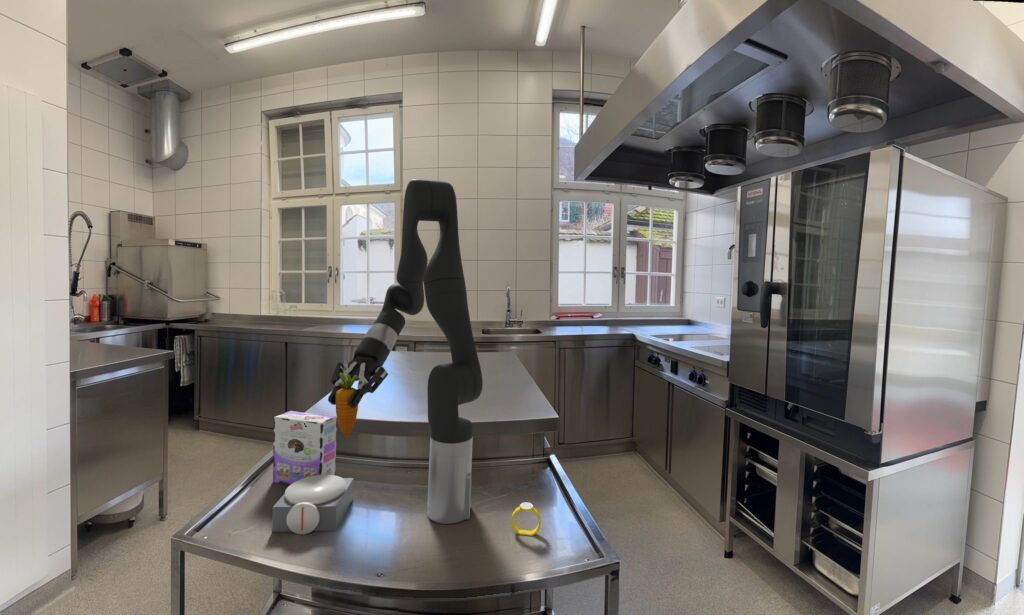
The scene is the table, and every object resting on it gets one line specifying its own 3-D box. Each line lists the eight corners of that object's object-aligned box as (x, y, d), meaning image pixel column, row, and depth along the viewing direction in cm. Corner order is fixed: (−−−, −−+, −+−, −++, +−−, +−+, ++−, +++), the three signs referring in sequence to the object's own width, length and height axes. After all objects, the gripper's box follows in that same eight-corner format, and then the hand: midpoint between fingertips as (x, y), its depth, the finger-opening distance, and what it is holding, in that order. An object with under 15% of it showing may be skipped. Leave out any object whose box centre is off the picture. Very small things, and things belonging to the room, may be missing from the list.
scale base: (352, 499, 92) (353, 473, 92) (333, 534, 79) (334, 504, 79) (297, 499, 91) (298, 473, 91) (269, 535, 78) (269, 505, 78)
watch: (511, 537, 82) (510, 508, 81) (512, 529, 84) (511, 501, 84) (540, 538, 81) (540, 509, 81) (541, 530, 84) (540, 502, 84)
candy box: (336, 480, 101) (338, 415, 100) (320, 491, 95) (321, 423, 94) (289, 472, 104) (291, 409, 103) (271, 482, 98) (272, 416, 98)
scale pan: (352, 478, 92) (352, 474, 92) (335, 505, 80) (335, 501, 80) (298, 478, 91) (298, 474, 91) (274, 506, 79) (274, 502, 79)
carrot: (362, 435, 94) (363, 372, 94) (345, 442, 90) (346, 375, 89) (347, 431, 97) (348, 369, 96) (329, 438, 92) (330, 373, 91)
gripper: (346, 334, 102) (306, 392, 91) (394, 338, 97) (358, 399, 86) (360, 352, 107) (324, 409, 96) (406, 356, 102) (374, 417, 91)
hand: (341, 404), depth 91 cm, fingers closed on carrot, 5 cm apart
